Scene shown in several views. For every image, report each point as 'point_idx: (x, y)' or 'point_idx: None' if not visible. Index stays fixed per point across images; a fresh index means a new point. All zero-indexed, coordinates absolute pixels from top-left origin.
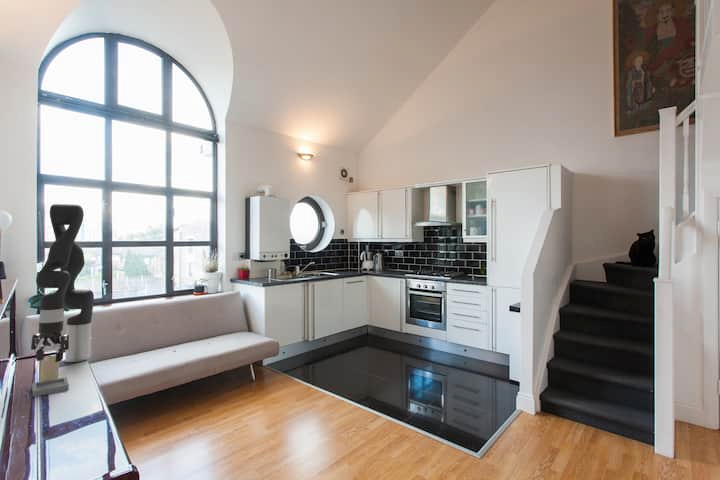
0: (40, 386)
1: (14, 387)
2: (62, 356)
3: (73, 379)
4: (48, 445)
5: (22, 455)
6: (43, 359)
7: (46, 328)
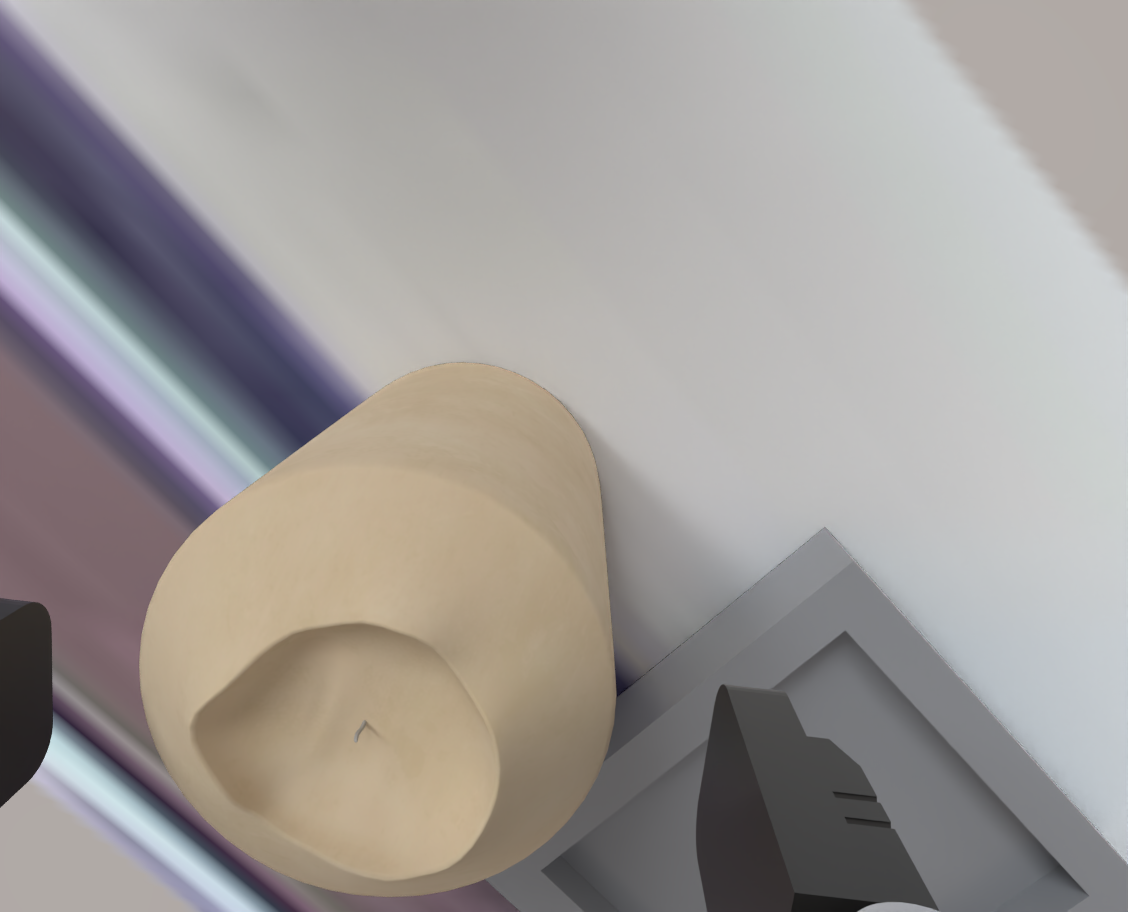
0: (633, 856)
1: (158, 776)
2: (880, 833)
3: (850, 376)
4: None
5: None
6: (249, 846)
7: None
